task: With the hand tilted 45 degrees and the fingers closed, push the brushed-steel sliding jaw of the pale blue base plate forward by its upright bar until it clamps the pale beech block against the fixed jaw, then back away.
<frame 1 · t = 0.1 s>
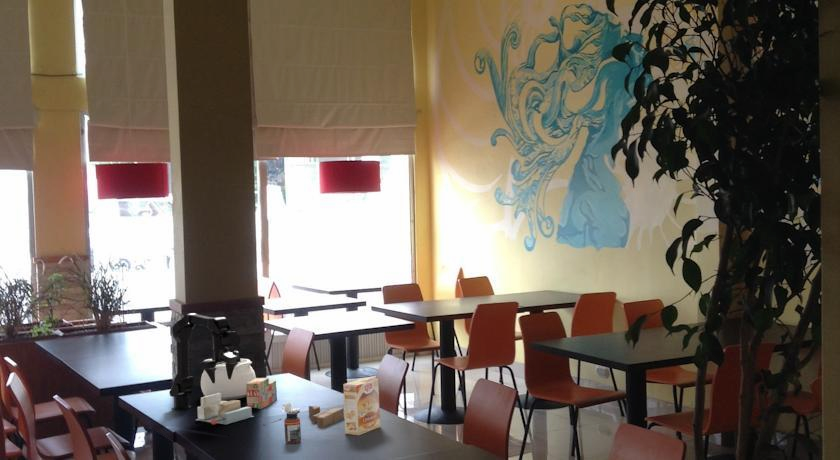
hand: (221, 381, 379), 15 cm above the table, tool pointing down, fingers open, 9 cm apart
stack of blocks: (262, 405, 396), on the table
wooden block set: (317, 422, 358), on the table
teacup and saucer: (291, 415, 375), on the table
supplement bottle: (293, 442, 325), on the table
sliding jaw: (213, 405, 371), point 6 cm above the table, slide at 0.0 cm
coffeecake box: (363, 430, 339), on the table
pot: (229, 396, 420), on the table
beech block: (229, 418, 365), point 1 cm above the table, touching pale blue base plate
pale blue base plate: (226, 420, 366), on the table
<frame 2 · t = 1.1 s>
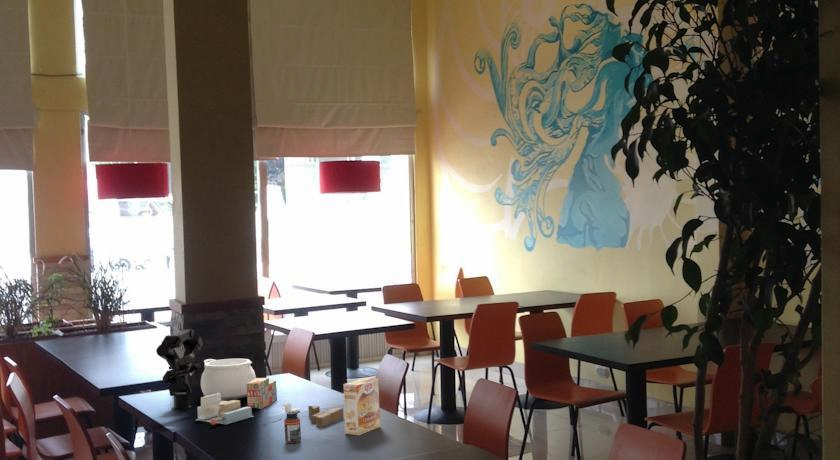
hand: (192, 387, 379), 12 cm above the table, tool tilted 45°, fingers open, 8 cm apart
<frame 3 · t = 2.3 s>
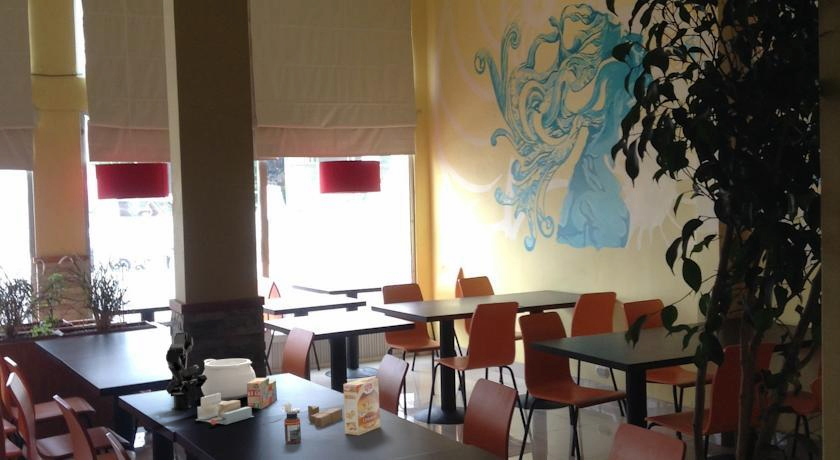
hand: (196, 398, 376), 8 cm above the table, tool tilted 45°, fingers closed
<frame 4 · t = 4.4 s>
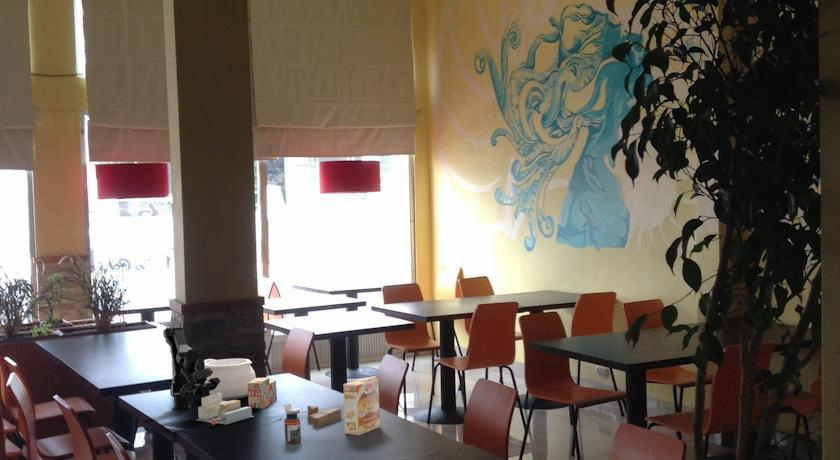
hand: (210, 401, 372), 7 cm above the table, tool tilted 45°, fingers closed, pressing on sliding jaw
sliding jaw: (214, 405, 370), point 6 cm above the table, slide at 0.5 cm, touching gripper
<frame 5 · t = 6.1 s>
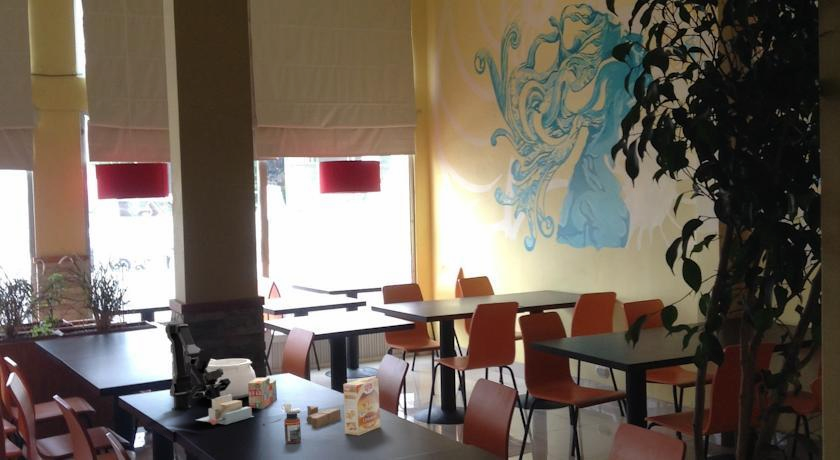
hand: (220, 403, 368), 7 cm above the table, tool tilted 45°, fingers closed, pressing on sliding jaw
sliding jaw: (224, 407, 367), point 6 cm above the table, slide at 7.0 cm, touching beech block, gripper
beech block: (231, 418, 364), point 1 cm above the table, touching sliding jaw, pale blue base plate
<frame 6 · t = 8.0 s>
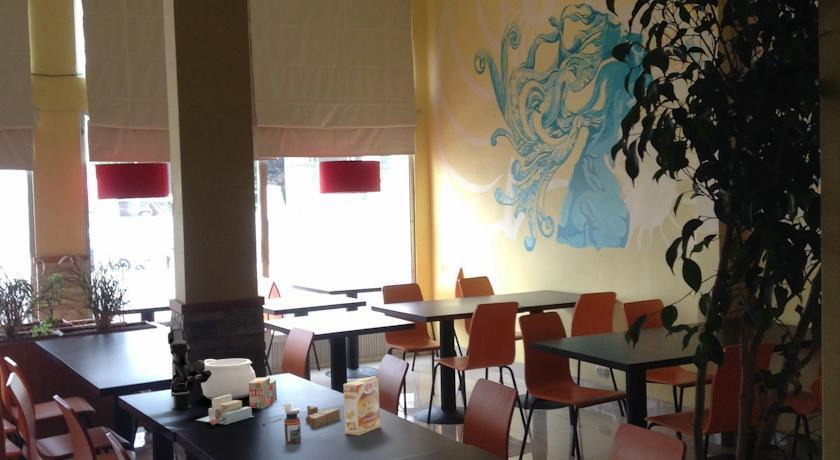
hand: (201, 393, 375), 10 cm above the table, tool tilted 45°, fingers closed
sliding jaw: (224, 407, 367), point 6 cm above the table, slide at 7.0 cm, touching beech block
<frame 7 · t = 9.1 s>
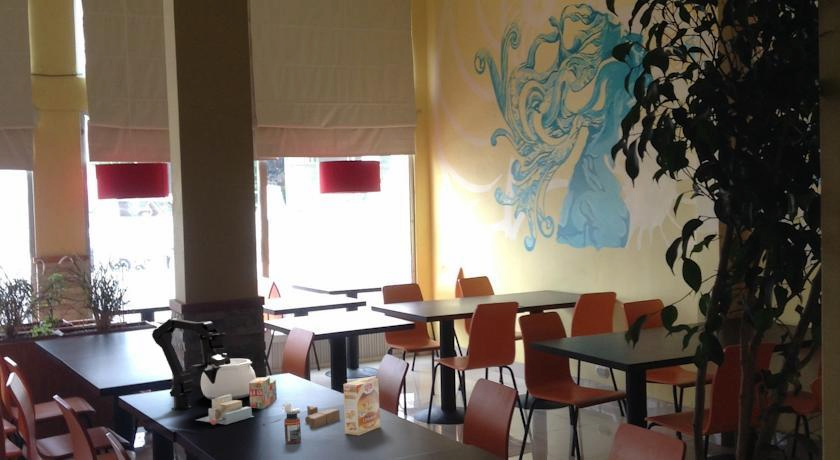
hand: (213, 383, 389), 12 cm above the table, tool pointing down, fingers closed
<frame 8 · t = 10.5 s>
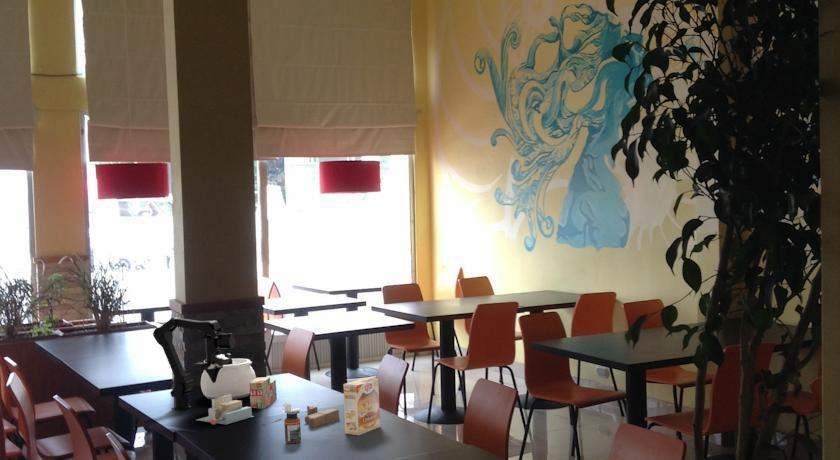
hand: (214, 382, 391), 12 cm above the table, tool pointing down, fingers closed
at the end: sliding jaw slide at 7.0 cm; beech block 0.0 cm from the target spot on the pale blue base plate, point 1.0 cm above the pale blue base plate's base; beech block tilted 0° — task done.
